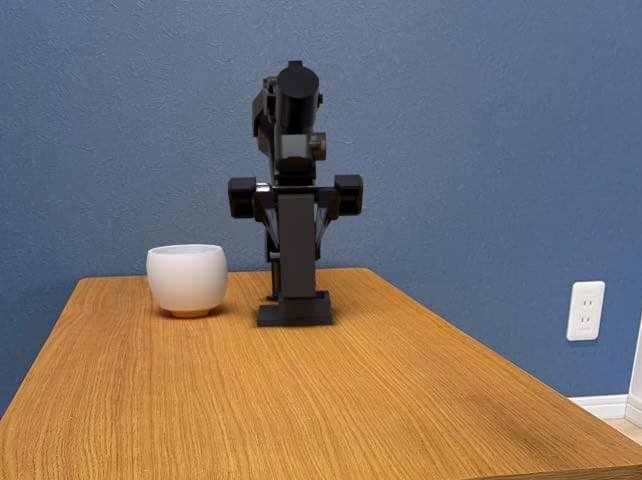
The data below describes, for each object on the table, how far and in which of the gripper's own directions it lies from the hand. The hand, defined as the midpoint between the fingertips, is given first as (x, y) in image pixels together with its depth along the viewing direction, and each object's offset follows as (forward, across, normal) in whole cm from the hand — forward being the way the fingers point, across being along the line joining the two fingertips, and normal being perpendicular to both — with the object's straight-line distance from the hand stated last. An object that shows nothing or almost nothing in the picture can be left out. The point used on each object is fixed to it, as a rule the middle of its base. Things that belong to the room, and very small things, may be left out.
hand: (297, 247), depth 117 cm
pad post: (+4, 0, +6) cm, 7 cm away
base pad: (+3, -1, +14) cm, 14 cm away
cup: (-1, -17, +17) cm, 24 cm away
